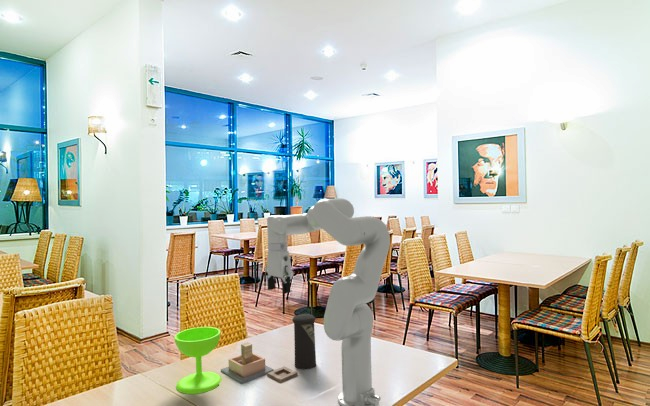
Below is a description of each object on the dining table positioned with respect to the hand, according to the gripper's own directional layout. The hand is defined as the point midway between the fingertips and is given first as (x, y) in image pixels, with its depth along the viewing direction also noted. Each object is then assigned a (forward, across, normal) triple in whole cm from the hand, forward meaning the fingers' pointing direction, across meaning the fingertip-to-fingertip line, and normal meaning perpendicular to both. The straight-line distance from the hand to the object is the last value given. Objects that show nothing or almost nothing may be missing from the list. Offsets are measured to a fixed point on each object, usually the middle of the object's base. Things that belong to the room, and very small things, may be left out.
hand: (279, 291), depth 156 cm
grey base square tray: (+30, +7, +11) cm, 33 cm away
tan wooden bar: (+28, +7, +11) cm, 31 cm away
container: (+31, -5, -8) cm, 32 cm away
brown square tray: (+30, -6, +4) cm, 31 cm away
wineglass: (+31, +12, +28) cm, 43 cm away
